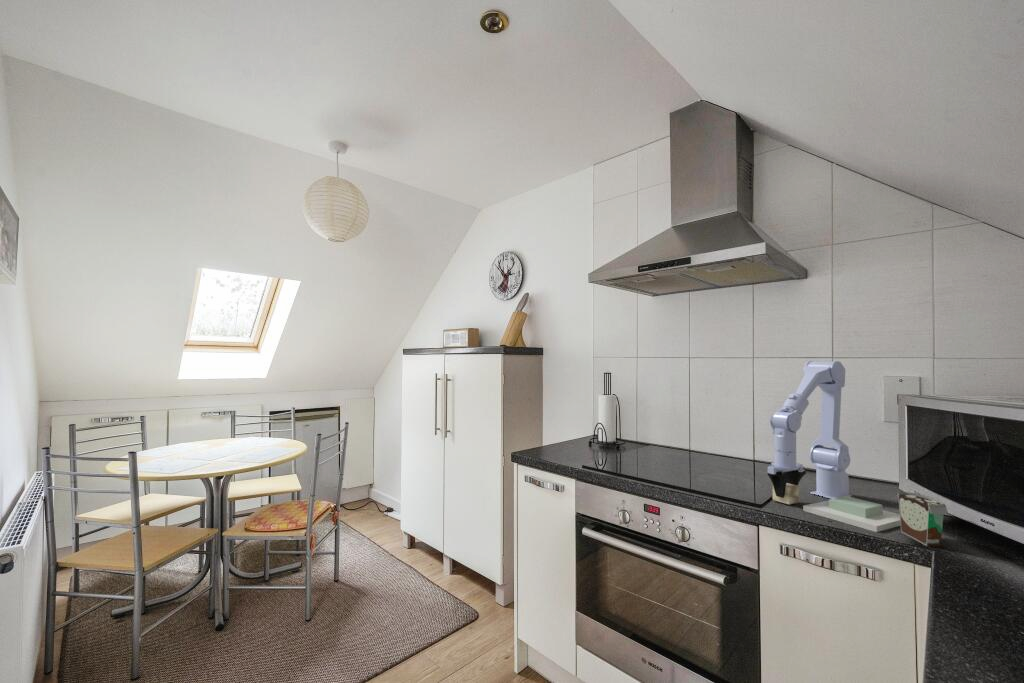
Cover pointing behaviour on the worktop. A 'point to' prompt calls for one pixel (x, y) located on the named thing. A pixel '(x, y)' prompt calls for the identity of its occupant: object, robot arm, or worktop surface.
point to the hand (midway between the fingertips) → (785, 495)
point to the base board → (855, 520)
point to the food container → (921, 517)
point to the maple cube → (788, 494)
